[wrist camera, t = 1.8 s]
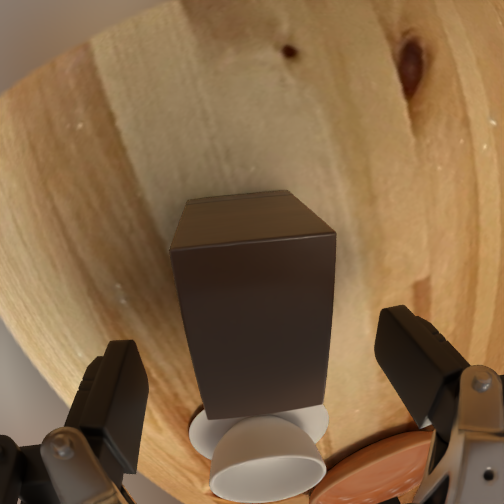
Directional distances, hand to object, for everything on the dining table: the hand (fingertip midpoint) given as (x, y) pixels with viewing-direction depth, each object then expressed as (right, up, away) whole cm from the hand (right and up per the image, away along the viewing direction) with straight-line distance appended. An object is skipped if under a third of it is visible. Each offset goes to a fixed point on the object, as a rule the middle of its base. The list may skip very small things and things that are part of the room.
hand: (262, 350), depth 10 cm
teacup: (0, -10, +10) cm, 14 cm away
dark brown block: (-1, +2, +5) cm, 6 cm away
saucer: (+13, -19, +16) cm, 28 cm away
